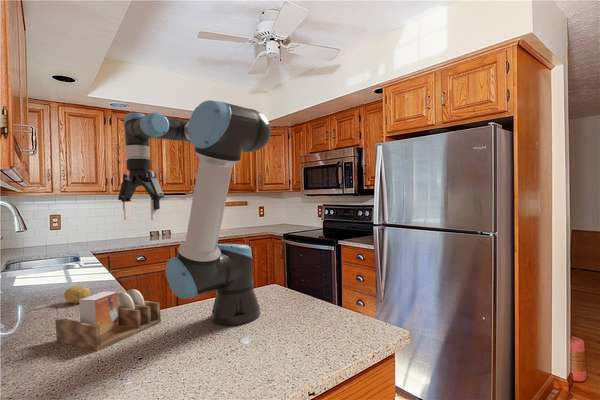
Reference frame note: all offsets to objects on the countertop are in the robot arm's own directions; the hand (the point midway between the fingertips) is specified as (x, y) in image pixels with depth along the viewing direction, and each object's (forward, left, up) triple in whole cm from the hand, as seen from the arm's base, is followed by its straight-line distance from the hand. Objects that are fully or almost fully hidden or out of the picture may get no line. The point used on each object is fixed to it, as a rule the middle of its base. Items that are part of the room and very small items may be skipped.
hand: (141, 219), depth 114 cm
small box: (-6, +20, -31) cm, 37 cm away
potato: (+35, +3, -32) cm, 48 cm away
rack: (-6, +17, -32) cm, 36 cm away
